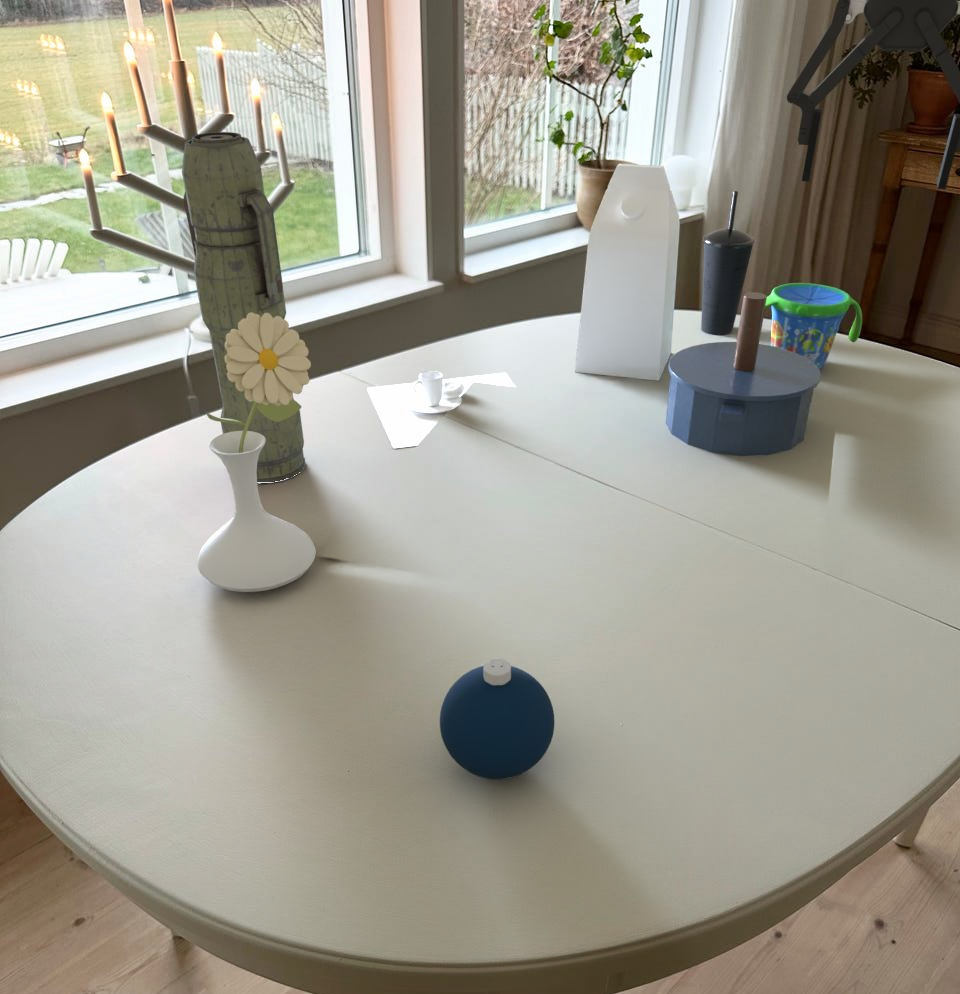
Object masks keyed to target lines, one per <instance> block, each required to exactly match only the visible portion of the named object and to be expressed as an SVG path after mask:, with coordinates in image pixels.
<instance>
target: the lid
mask: <svg viewBox="0 0 960 994" xmlns="http://www.w3.org/2000/svg"><path fill="white" fill-rule="evenodd" d="M767 297H768V295H767V294H765V293H762V292H756V291H754V292H753V291H752V292H751V291H750V292H746V293H744V294H743V297H742V303H741V304H742V305H741V309H740V310H741V312H740V317H739V324H738V330H737V338H736V341H719V342H718V341H716V342H708V343H700V344H696V345H692V346H689V347H685V348H683V349H681V350H679V351H677V352H676V353H674V354H673V355H672V356H671V358H670V360H669V362H668V372H669V375H670V377H671V376H672V377H673V378H674V379H675V380H676V381H677V382H679V383H680V384H682V385H683V386H685V387H687V388H689V389H692V390H694V391H697V392H700V393H703V394H707V395H711V396H715V397H720V398H725V399H732V400H742V401H776V400H784V399H789V398H794V397H798V396H801V395H804V394H806V393H808V392H810V391H812V390H813V389H814V390H815V389H816V388H817V386H819V384H820V381H821V377H822V376H821V375H822V374H821V369H820V370H819V368H818V367H817V366H816V365H815V364H814V363H813V362H812V361H810V360H809V359H807V358H806V357H804V356H802V355H799V354H797V353H795V352H792V351H789V350H786V349H782V348H778V347H774V346H771V345H768V344H762V343H760V341H761V336H762V335H761V334H762V329H763V323H764V317H765V310H766V309H765V305H766V299H767Z"/></svg>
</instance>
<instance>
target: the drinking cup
mask: <svg viewBox="0 0 960 994" xmlns="http://www.w3.org/2000/svg"><path fill="white" fill-rule="evenodd" d="M738 194H739V191H738V190H734V191H733V192H732V198H731V206H730V211H729V212H730V213H729V219H728V221H729V222H728V226H727V227H728V228H727V227H726V228H719V229H716V230H714V231H711V232H709V233H706V234H705V235H703V237H702V242H703V267H702V269H703V270H702V297H701V298H702V299H701V323H700V330H701V331H702V332H703V333H706V334H710V335H716V336H720V335H723V336H724V335H728V334H732V332H733V331H734V326H735V322H736V318H737V313H738V309H739V305H740V300H741V297H742V294H743V293H742V292H743V290H744V285H745V280H746V276H747V271H748V267H749V263H750V259H751V255H752V252H753V251H752V250H753V246H754V245H755V244H756V241H757V239H756V237H754V236H753V235H751V234H749V233H748V232H746V231H744V230H741V229H738V228H734V224H735V216H736V209H737V204H738V196H739V195H738Z"/></svg>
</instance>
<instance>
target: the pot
mask: <svg viewBox="0 0 960 994" xmlns="http://www.w3.org/2000/svg"><path fill="white" fill-rule="evenodd" d="M814 391H815V388H814V389H813V390H812V391H810V392H808V393H806V394H804V395H801V396H798V397H794V398H789V399H784V400H776V401H742V400H732V399H725V398H720V397H715V396H711V395H707V394H703V393H700V392H697V391H694V390H692V389H689V388H687V387H685V386H683V385H682V384H680V383H679V382H677V381H676V380H675V379H674V378H673V377H672V376H671V375H670V380H669V388H668V397H667V407H666V414H665V417H666V418H665V425H666V426H667V428H668V430H669V433H670V434H671V435H672V436H673V437H674V438H677V440H680V441H681V442H683V443H685V444H686V445H688V446H691V447H693V448H697V449H700V450H703V451H707V452H710V453H712V454H713V453H714V454H721V455H729V456H735V457H756V456H757V457H759V456H770V455H774V454H778V453H782V452H786V451H790V450H792V449H793V448H795V447H796V446H797V445H799V444H801V443H802V442H803V441H804V440H805V434H806V431H807V425H808V419H809V415H810V411H811V410H810V409H811V406H812V402H813V401H812V400H813V396H814Z"/></svg>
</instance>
